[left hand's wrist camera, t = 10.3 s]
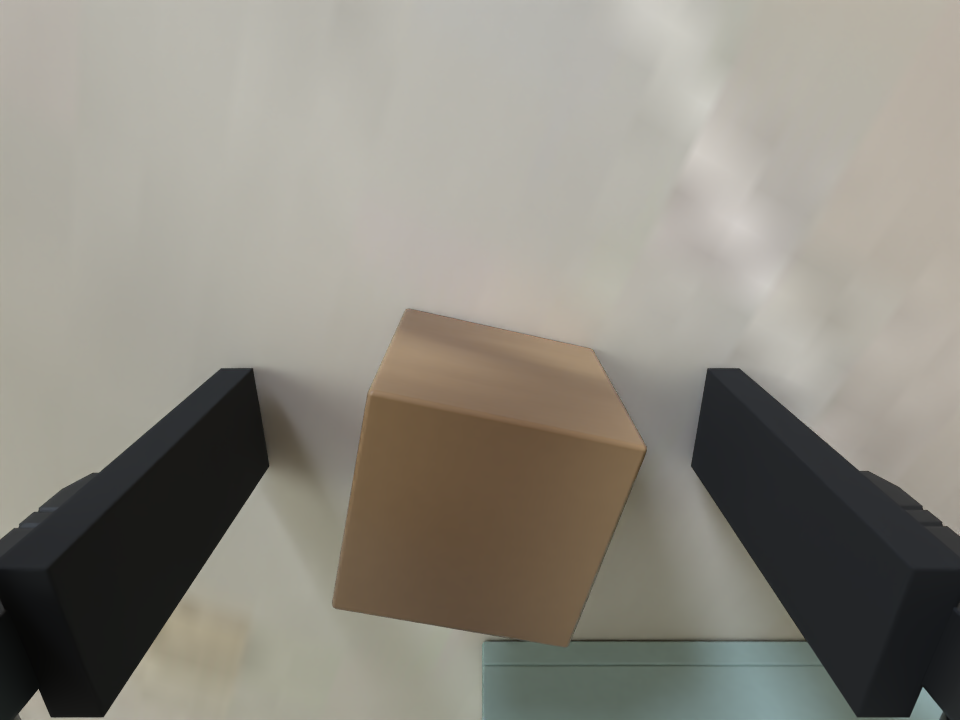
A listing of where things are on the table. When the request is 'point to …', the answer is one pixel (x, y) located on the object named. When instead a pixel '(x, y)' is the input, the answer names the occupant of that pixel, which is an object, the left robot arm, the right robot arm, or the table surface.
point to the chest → (665, 682)
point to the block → (485, 482)
